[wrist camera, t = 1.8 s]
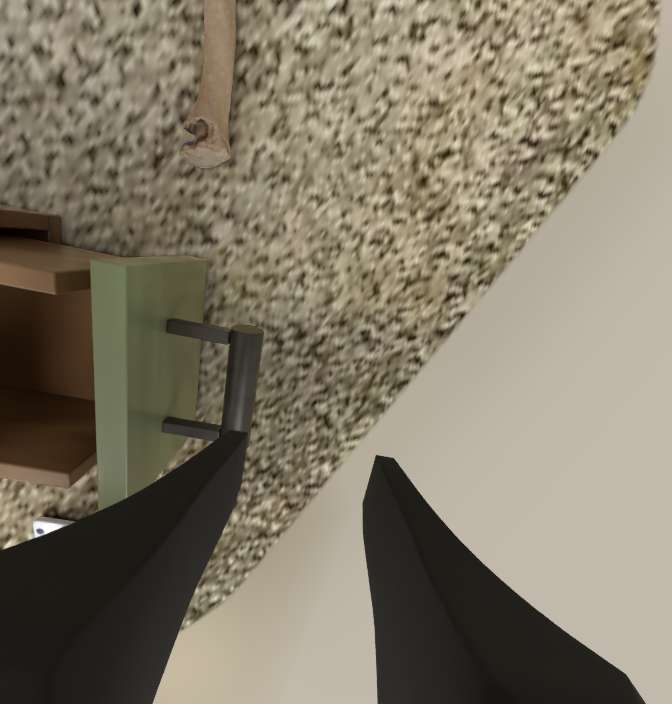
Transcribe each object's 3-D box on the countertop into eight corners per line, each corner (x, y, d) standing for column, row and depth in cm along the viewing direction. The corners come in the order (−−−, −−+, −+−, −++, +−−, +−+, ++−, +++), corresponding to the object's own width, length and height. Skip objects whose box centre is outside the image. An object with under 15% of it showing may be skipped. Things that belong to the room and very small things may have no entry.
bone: (235, -144, 13) (216, -217, 11) (242, 172, 16) (228, 161, 14) (171, -150, 13) (140, -223, 11) (192, 168, 16) (171, 157, 14)
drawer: (284, 275, 17) (252, 291, 11) (260, 441, 20) (224, 531, 14) (-41, 208, 16) (-293, 182, 10) (-14, 393, 19) (-191, 466, 13)
